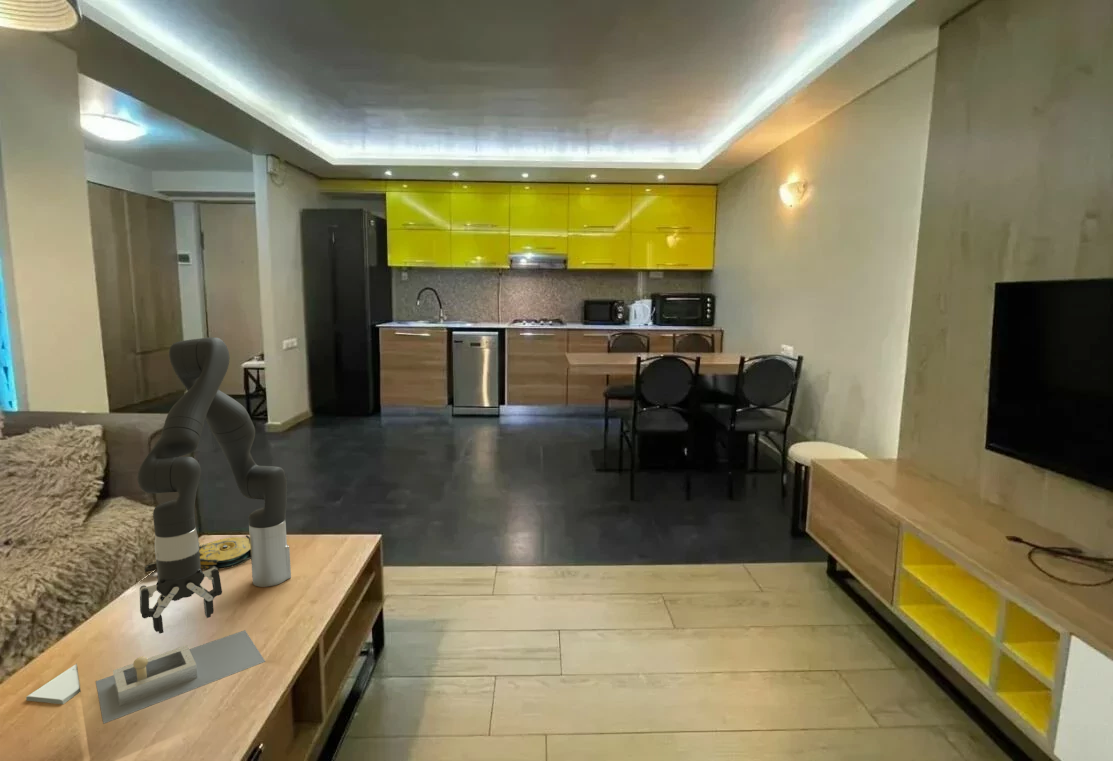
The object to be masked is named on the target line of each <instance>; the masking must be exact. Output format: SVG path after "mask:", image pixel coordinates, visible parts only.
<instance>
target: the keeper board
mask: <svg viewBox="0 0 1113 761" xmlns="http://www.w3.org/2000/svg"><path fill="white" fill-rule="evenodd" d="M189 650H190V652H191V654H192V656H193V659H194V661H195V663H196V667H197V678H195V679H193V680H190V681H187V682H185V683H182V684H179V685H177V686H174V687H171V688H169V689H166V690H163V691H161V692H158V693H155V694H153V695H150V696H147V697H145V698H142V699H139V700H137V701H134V702H131V703H129V704H126V705H123V706H121V707H120V705H119V701H118V697H117V693H116V688H115V684H114V675H113V674H112V675H110V676H107V677H105V678H102V679H98V680H96V681H95V684H96V690H97V695H98V701H99V706H100V711H101V718H102V722H103V723H102V724H107V723H109V722H112V721H115V720H117V719H119V718H122V717H125V716H128V715H130V714H133V713H135V712H138V711H140V710H141V711H142V710H143V709H145V708H148V707H151V706H153V705H156V704H158V703H161V702H163V701H164V702H165V701H166V700H169V699H172V698H175V697H177V696H179V695H182V694H185V693H187V692H191V691H193V690H196V689H198V688H200V687H203V686H206V685H208V684H211V683H214V682H216V681H218V680H221V679H224V678H226V677H229V676H232V675H234V674H236V673H237V674H238V673H240V672H243V671H244V670H247V669H249V668H252V667H255V666H257V665H260V664H263V663H265V662H266V660H265V659H264V657H263V656H262V654H261V652H260V651H259V649H258V648H257V646H256V644H255V643H254V641H253V640H252V638H251V637H250V635H249V634H248V632H247V631H246V630H245V629H244V630H241V631H239V632H235V633H232V634H229V635H226V636H224V637H221V638H217V639H215V640H212V641H209V642H206V643H203V644H200V645H198V646H195V647H192V648H189ZM132 664H133V666H134V668H135V669H136V672H137V680H135V681H132V682H129V683H126V684H127V685H129V684H132V683H135V682H138V681H140V680H143V679H146V678H149V677H152V676H154V675H157V674H160V673H163V672H166V671H168V670H171V669H174V668H177V667H180V666H182V664H180V665H177V666H174V667H171V668H169V669H166V670H163V671H160V672H157V673H154V674H152V675H149V676H147V672H146V665H147V664H148V658H147V657H146V656H144V655H143V656H139V657H136V659H134V661H133V663H132Z"/></svg>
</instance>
